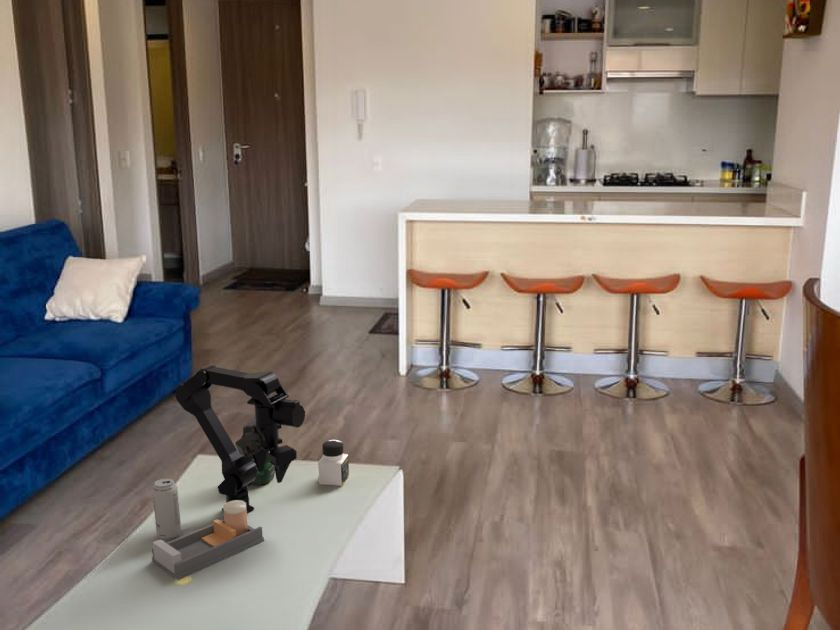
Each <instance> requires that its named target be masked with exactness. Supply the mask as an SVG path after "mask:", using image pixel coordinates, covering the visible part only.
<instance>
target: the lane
mask: <svg viewBox="0 0 840 630" xmlns="http://www.w3.org/2000/svg"><path fill="white" fill-rule="evenodd" d="M220 521H221V522H223V523H225V522H224V519H220ZM212 533H214V526H213V523H212V524H209V525H207V526H203V527H202V528H201V527H200V528H199V529H197V530H194V531H192V532H189V533H187V534H185V535H182V536H180V537H178V538H176V539H174V540H171V541H162V540H161V539H160V538H159V539H158V540H155V541H153V542H152V546H153V547H152V549H151V550H152V552H151V553H152V557H151V560H152V561H151V562H153V563H154V564H155V565H157V566H159V567H160V568H161V569H162V570H164V571H165V572H167V573H168V574H169V575H171V576H172V577H173V578H175V579H176V580H180V579H183V578H185V577H186V576H187V577H188V576H190V575H191V574H194V573H196V572H199V571H200V570H202V569H205V568H207V567H210V566H212V565H214V564H216V563H218V562H220V561H223V560H225V559H227V558H229V557H231V556H233V555H236V554H238V553H240V552H242V550H243V551H245V550H247V549H249V548H251V547H253V545H254V546H256V545H257V543H258V544H260V543H262V541H263V542H264V541H265V538H264V536H263V527H261V526H258V527H256V528H254V527H252V526H251V525H249V524H248V532H246V533H244V534H242V535H239V536H237V537H235V538H233V539H230V540H228V541H226V542H223V543H221V544H219V545H216V546H214V547H212V546H211V545H209V544H207V543H206V542H204V541H203V540H202V538H203V537H205V536H208V535H210V534H212ZM255 544H256V545H255ZM250 546H251V547H250ZM246 548H247V549H246ZM244 549H245V550H244Z"/></svg>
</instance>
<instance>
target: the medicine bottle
mask: <svg viewBox="0 0 840 630" xmlns="http://www.w3.org/2000/svg"><path fill="white" fill-rule="evenodd" d="M317 465H318V468H317V469H318V483H319V485H324V486H325V485H326V486H339V487H343V486H344V485H345V483H346V481H347V480H348V478H349V477H350V467H349V454H347V453H344V443H343V441H341V440H337V439H330V440H327V441H324V442H323V443H322V457H321V458H320V459H319V460H318V462H317Z"/></svg>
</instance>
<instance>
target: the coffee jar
mask: <svg viewBox="0 0 840 630" xmlns="http://www.w3.org/2000/svg"><path fill="white" fill-rule="evenodd" d="M255 424H256V421H255V416H254V417H253V418H251V419H249V420H247V422H246V423H245V424H244V425H243V427H242V435H243V434H246V433H249V432H252V427H253V425H255ZM269 453H270V451H268V450H267V454H266V460H265V466H264V470H263V471H262V472H259V470H258V468H257V465H256V466H255V467H256V469H257V476H256V479H255V480H254V482H253V484H254V486H255V485H256V486H258V485H259V486H260V485H264V484H269V483H270V482H271V481H272V480H273V478H274V476H276V474H275V468H274V465H272V464H271V463H270V462H269V461H270V459H269ZM251 459H252V461H253V462H254V463H255V460H254V458H253V455H251ZM255 464H256V463H255Z"/></svg>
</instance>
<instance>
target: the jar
mask: <svg viewBox="0 0 840 630" xmlns="http://www.w3.org/2000/svg"><path fill="white" fill-rule="evenodd" d="M222 508H223V509H224V511H223V518H224V522H225V524H226V525H228V526H230V527H231V528H233V529H235V530H236V537H237V536H239V535H242V534H244V533H246V532H248V525H249V524H248V512H247V509H246V502H244V501H241V500H234V501H230V502H227V503H226V502H225V504H223V507H222Z"/></svg>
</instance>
